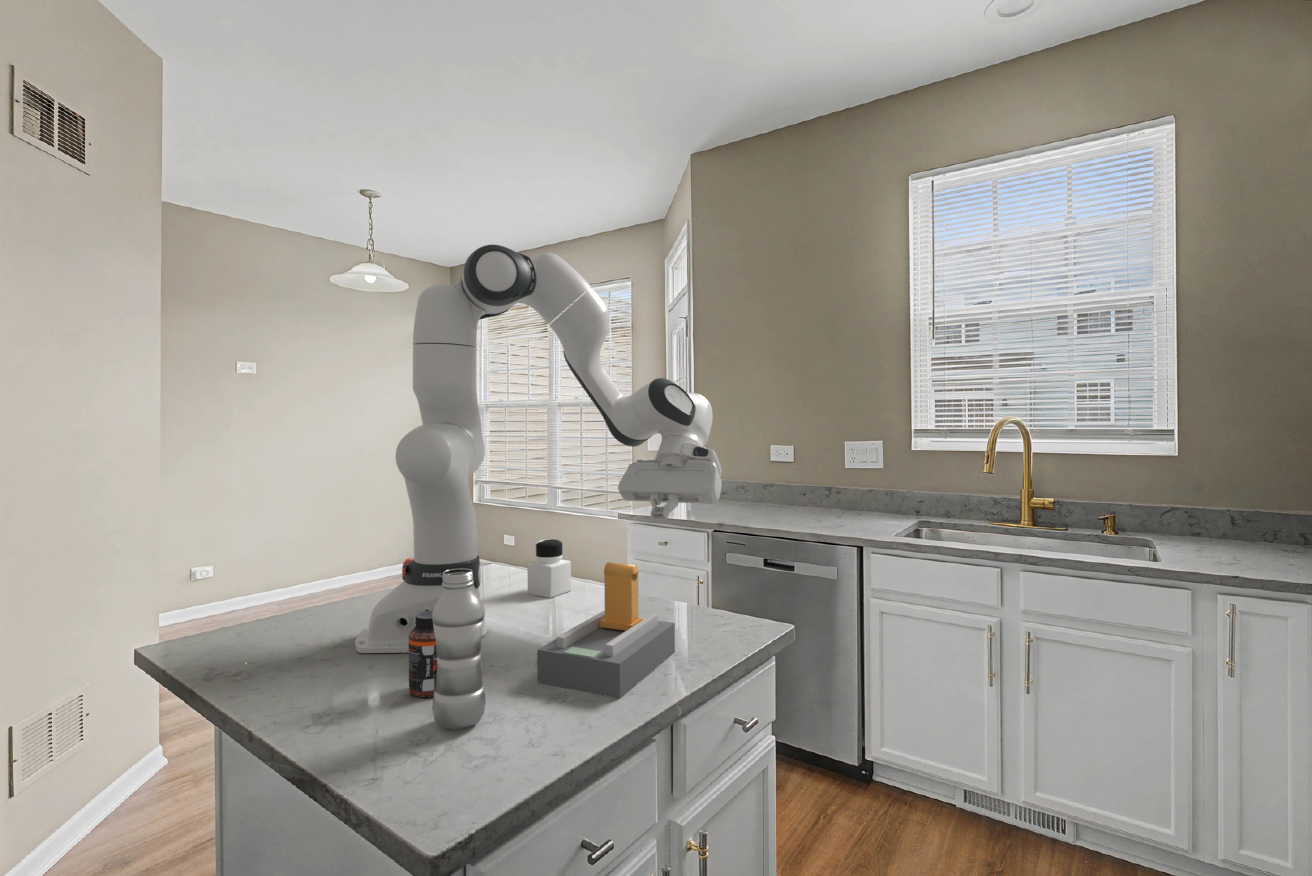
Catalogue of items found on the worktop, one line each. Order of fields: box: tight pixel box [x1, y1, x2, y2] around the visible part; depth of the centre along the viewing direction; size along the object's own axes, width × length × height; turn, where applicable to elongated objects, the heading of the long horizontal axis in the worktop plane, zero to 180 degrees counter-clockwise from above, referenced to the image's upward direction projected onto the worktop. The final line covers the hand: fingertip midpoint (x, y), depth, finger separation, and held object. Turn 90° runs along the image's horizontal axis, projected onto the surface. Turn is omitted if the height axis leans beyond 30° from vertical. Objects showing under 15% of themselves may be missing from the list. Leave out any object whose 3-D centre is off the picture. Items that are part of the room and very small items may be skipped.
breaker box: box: [536, 609, 676, 699], centre depth 104 cm, size 20×14×7 cm
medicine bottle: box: [526, 538, 572, 599], centre depth 148 cm, size 7×7×12 cm
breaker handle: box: [600, 561, 644, 631], centre depth 107 cm, size 4×6×10 cm, turn 65°
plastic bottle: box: [431, 569, 487, 730], centre depth 84 cm, size 6×7×20 cm
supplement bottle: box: [408, 611, 437, 698], centre depth 95 cm, size 6×6×11 cm
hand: (658, 517), depth 120 cm, fingers closed
